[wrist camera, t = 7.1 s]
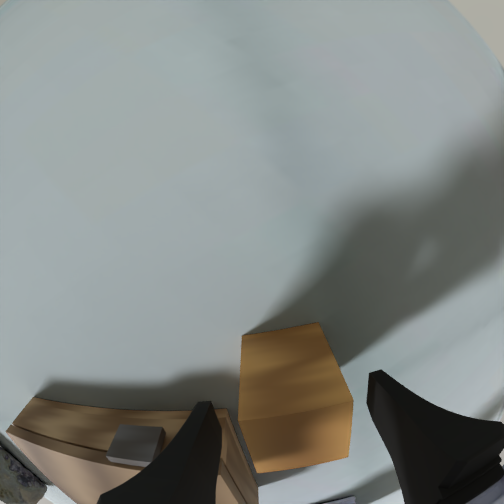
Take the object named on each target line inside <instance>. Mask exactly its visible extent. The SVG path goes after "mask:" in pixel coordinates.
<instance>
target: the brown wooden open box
mask: <svg viewBox="0 0 504 504" xmlns="http://www.w3.org/2000/svg"><path fill="white" fill-rule="evenodd" d="M214 410H215V413H216V415H217V418H218V420H219V423H220V425H221V428H222V449H221V456H220V461H222V462H223V464H224V466H225V467H226V469H227V471H228V473H229V475H230V477H231V478H232V480H233V482H234V484H235V485H236V487H237V489H238V491H239V492H240V494H241V496H242V497H243V499H244V501H245V502H246V504H259V503H258V486H257V484H256V482H255V479H254V477H253V475H252V472H251V470H250V467H249V465H248V463H247V460H246V458H245V455H244V453H243V450H242V448H241V445H240V443H239V440H238V438H237V435H236V433H235V430H234V427H233V425H232V422H231V419H230V417H229V414H228V411H227V408H226V409H214ZM191 412H192V411H140V410H121V409H109V408H98V407H89V406H81V405H74V404H68V403H62V402H56V401H50V400H45V399H40V398H36V397H33V398H32V399H31V400H30V402H29V403H28V404H27V405H26V406H25V408H24V409H23V410H22V411H21V413H20V414H19V415H18V416H17V418H16V419H15V420H14V421H13V423H12V424H13V425H14V426H16V427H18V428H21V429H23V430H26V431H29V432H31V433H34V434H37V435H40V436H43V437H46V438H49V439H53V440H56V441H59V442H63V443H67V444H70V445H74V446H78V447H83V448H87V449H91V450H96V451H101V452H107V451H108V449H109V447H110V445H111V443H112V440H113V438H114V436H115V434H116V432H117V430H118V427H119V425H120V424H124V425H137V426H155V427H163V428H164V430H165V432H166V435H165V438H164V442H163V445H162V449H161V452H162V451H163V450H164V449H165V448H166V446H167V445H168V444H169V443H170V441H171V440H172V439H173V438H174V437H175V435H176V434H177V432H178V431H179V430H180V428H181V427H182V425H183V424H184V423H185V421H186V420H187V418H188V417H189V415H190V413H191ZM161 452H160V453H161Z"/></svg>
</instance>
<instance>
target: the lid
mask: <svg viewBox="0 0 504 504" xmlns="http://www.w3.org/2000/svg"><path fill="white" fill-rule="evenodd" d="M6 433H7V434H8V435H9V437H10V438H11V439H12V440H13V441H14V443H15V444H16V445H17V446H18V447H19V448H20V450H21V451H22V452H23V453H24V454H25V455H26V456H27V457H28V459H29V460H30V461H31V462H32V463H33V464H34V465H35V466H36V467H37V468H38V469H39V470H40V471H41V472H42V473H43V474H44V475H45V476H46V477H47V478H48V479H49V480H50V481H51V482H52V483H54V484H55V485H56V486H57V487H58V488H59V489H60V490H61V491H62V492H64V493H65V494H66V495H67V496H68V497H70V498H71V499H72V500H73V501H74V502H76V503H77V504H97V501H98V499H99V497H100V495H101V494H103V493H105V492H107V491H109V490H111V489H113V488H115V487H117V486H119V485H121V484H123V483H124V482H126V481H127V480H129V479H130V478H132V477H133V476H135V475H136V474H138V473H139V472H140V471H142V470H143V469H144V468H145V467H146V466H147V465H149V464H150V463H151V462H152V461H153V460H154V459H155V458H156V457H157V456H158V455H159V454H160V452H161V449H162V445H163V442H164V438H165V435H166V432H165V430H164V428H163V427H155V426H137V425H124V424H120V425H119V427H118V430H117V432H116V434H115V436H114V438H113V440H112V443H111V445H110V447H109V449H108V451H107V452H101V451H96V450H91V449H87V448H83V447H78V446H74V445H70V444H67V443H63V442H59V441H56V440H53V439H49V438H46V437H43V436H40V435H37V434H34V433H31V432H29V431H26V430H23V429H21V428H18V427H16V426H13V425H10V427H9V428H8V429H7V430H6ZM216 504H246V502H245V501H244V499H243V497H242V496H241V494H240V492H239V491H238V489H237V487H236V485H235V484H234V482H233V480H232V478H231V477H230V475H229V473H228V471H227V469H226V467H225V466H224V464H223V462H222V461H220V463H219V470H218V477H217V484H216Z"/></svg>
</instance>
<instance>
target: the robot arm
mask: <svg viewBox="0 0 504 504" xmlns="http://www.w3.org/2000/svg"><path fill="white" fill-rule="evenodd" d="M366 403H367V406H368V409H369V412H370V415H371V417H372V420H373V422H374V424H375V426H376V428H377V430H378V432H379V434H380V436H381V438H382V440H383V442H384V444H385V446H386V448H387V450H388V452H389V454H390V456H391V458H392V461H393V464H394V467H395V470H396V473H397V476H398V479H399V483H400V486H401V490H402V494H403V498H404V502H405V504H504V465H503V466H501V465H500V462H501V458H500V456H499V454H500V453H501V451H502V450H503V449H504V424H503V423H502V422H498V421H487V420H480V419H475V418H470V417H466V416H462V415H459V414H456V413H453V412H450V411H448V410H445V409H443V408H441V407H438V406H436V405H434V404H432V403H430V402H428V401H426V400H425V399H423V398H421V397H420V396H418V395H416V394H415V393H413V392H412V391H410V390H409V389H407V388H406V387H404V386H403V385H401V384H400V383H399V382H397V381H396V380H395V379H393V378H392V377H391V376H389V375H388V374H387V373H385V372H384V371H383V370H378V371H374V372H371V373H369V380H368V392H367V402H366ZM221 449H222V428H221V425H220V423H219V420H218V418H217V415H216V413H215V410H214V408H213V405H212V403H211V401H206V402H198V403H197V404H196V405H195V407H194V409H193V410H192V412H191V413H190V415H189V417H188V418H187V420H186V421H185V423H184V424H183V425H182V427H181V428H180V430H179V431H178V432H177V434H176V435H175V437H174V438H173V439H172V440H171V441H170V443H169V444H168V445H167V446H166V448H165V449H164V450H163V451H162V452H161V453H160V454H159V455H158V456H157V457H156V458H155V459H154V460H153V461H152V462H151V463H150V464H149V465H147V466H146V467H145V468H144V469H143V470H142V471H140V472H139V473H138V474H136V475H135V476H133V477H132V478H130V479H129V480H127V481H126V482H124V483H123V484H121V485H119V486H117V487H115V488H113V489H111V490H109V491H107V492H105V493H103V494H101V495H100V497H99V499H98V501H97V504H216V484H217V477H218V470H219V463H220V456H221ZM323 504H356V502H355V497H354V496H352V497H348V498H344V499H340V500H336V501H332V502H328V503H323Z"/></svg>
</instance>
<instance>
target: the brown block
mask: <svg viewBox="0 0 504 504" xmlns="http://www.w3.org/2000/svg"><path fill="white" fill-rule="evenodd" d="M352 415H353V398H352V395H351V393H350V391H349V389H348V386H347V384H346V382H345V380H344V377H343V375H342V373H341V371H340V368H339V366H338V364H337V362H336V359H335V357H334V355H333V353H332V351H331V348H330V346H329V344H328V342H327V340H326V338H325V335H324V333H323V331H322V329H321V327H320V325H319V322H317V323H312V324H307V325H302V326H297V327H291V328H286V329H280V330H274V331H268V332H262V333H256V334H250V335H243V336H242V345H241V365H240V386H239V407H238V423H239V426H240V428H241V431H242V434H243V437H244V440H245V442H246V445H247V448H248V450H249V453H250V456H251V458H252V461H253V464H254V466H255V469H256V471H257V473H264V472H273V471H281V470H288V469H295V468H301V467H306V466H311V465H316V464H321V463H326V462H330V461H334V460H339V459H342V458H346V457H348V455H349V446H350V437H351V427H352Z"/></svg>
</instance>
